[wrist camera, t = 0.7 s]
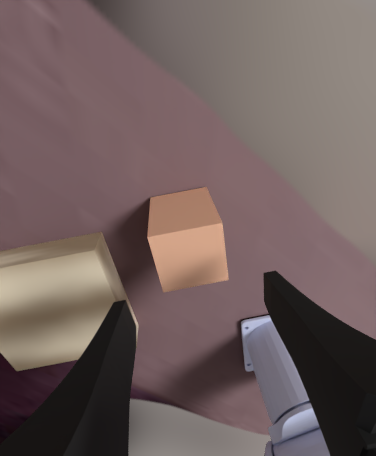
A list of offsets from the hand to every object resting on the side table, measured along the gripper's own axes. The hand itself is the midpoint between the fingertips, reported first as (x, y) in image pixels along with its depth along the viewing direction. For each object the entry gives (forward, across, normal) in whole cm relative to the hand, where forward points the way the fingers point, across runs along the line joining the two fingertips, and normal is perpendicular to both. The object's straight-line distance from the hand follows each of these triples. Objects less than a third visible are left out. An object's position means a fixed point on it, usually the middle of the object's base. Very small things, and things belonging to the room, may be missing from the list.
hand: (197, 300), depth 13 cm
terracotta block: (+10, 0, 0) cm, 10 cm away
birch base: (+10, +13, +6) cm, 17 cm away
